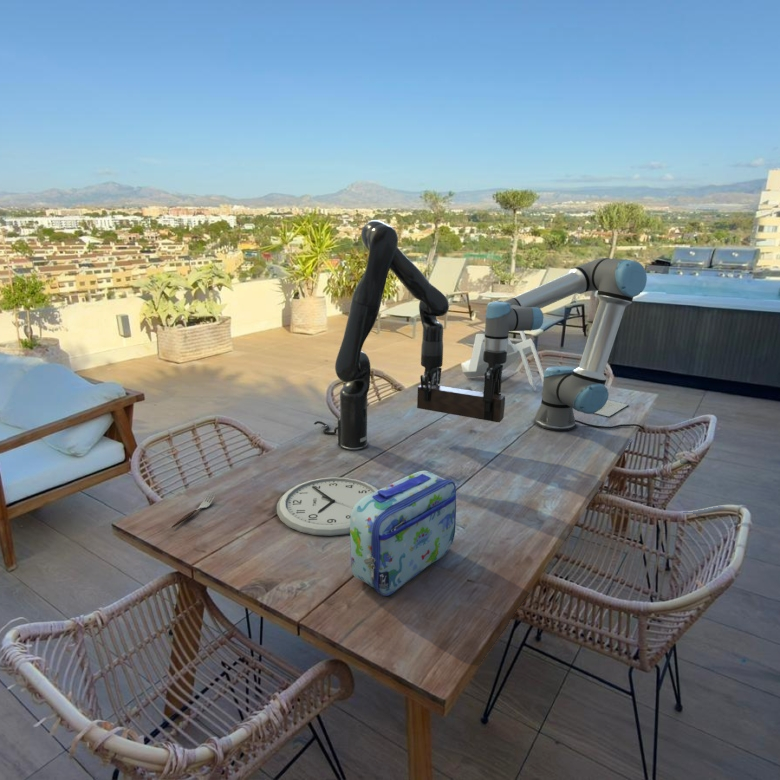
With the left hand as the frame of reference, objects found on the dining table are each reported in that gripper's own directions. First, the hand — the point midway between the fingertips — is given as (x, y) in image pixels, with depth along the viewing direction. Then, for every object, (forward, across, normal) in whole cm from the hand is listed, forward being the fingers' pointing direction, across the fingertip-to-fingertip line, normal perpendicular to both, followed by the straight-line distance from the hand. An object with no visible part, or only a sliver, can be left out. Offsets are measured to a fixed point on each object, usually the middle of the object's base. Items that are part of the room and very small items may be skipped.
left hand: (430, 398), depth 186 cm
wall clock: (+15, +58, -4) cm, 60 cm away
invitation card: (+15, -68, +52) cm, 87 cm away
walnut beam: (+3, 0, +11) cm, 12 cm away
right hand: (+3, 0, +22) cm, 22 cm away
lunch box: (+15, +74, +25) cm, 79 cm away
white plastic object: (+15, -80, +4) cm, 81 cm away
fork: (+15, +79, -34) cm, 87 cm away
